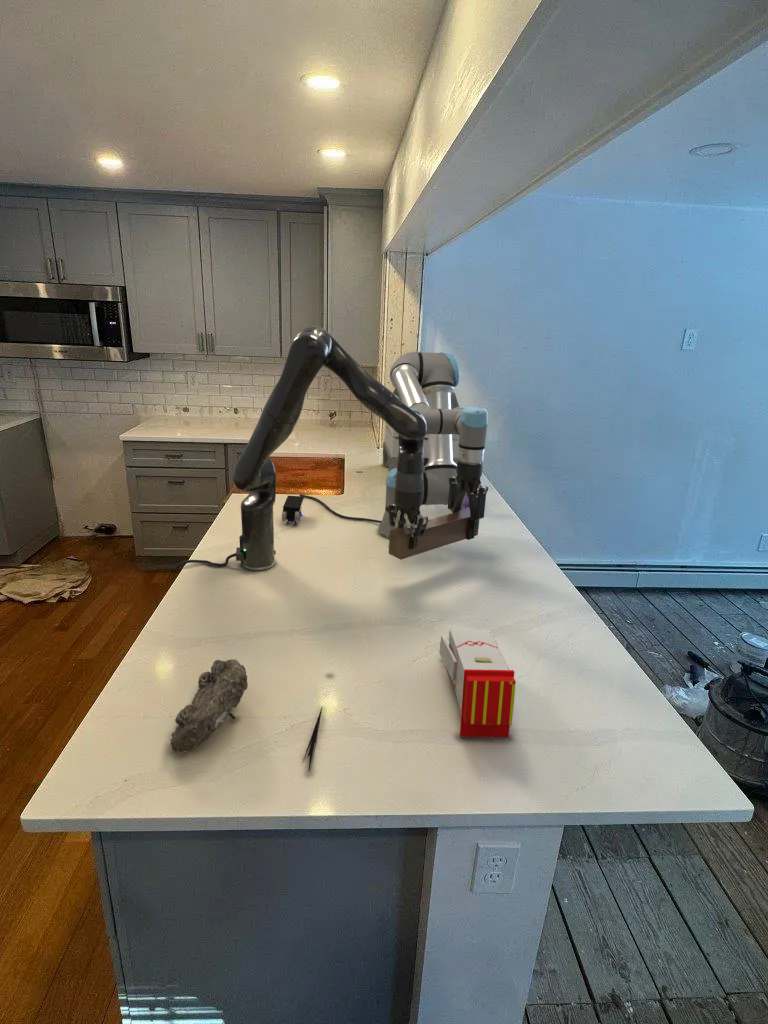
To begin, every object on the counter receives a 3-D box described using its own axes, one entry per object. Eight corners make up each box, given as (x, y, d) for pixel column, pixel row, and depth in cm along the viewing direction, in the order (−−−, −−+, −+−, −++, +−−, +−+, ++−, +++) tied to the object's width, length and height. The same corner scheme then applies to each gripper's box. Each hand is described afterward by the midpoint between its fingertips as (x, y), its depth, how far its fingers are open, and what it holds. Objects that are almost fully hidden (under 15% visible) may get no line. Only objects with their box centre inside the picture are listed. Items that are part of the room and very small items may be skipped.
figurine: (459, 514, 221) (463, 477, 216) (445, 506, 229) (448, 470, 224) (479, 511, 225) (483, 475, 220) (464, 503, 234) (467, 468, 228)
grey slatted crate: (381, 463, 289) (385, 382, 275) (444, 464, 292) (450, 384, 279) (389, 482, 257) (393, 392, 243) (459, 483, 261) (467, 394, 247)
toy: (489, 613, 130) (525, 677, 101) (485, 667, 133) (518, 744, 104) (437, 612, 130) (457, 676, 101) (434, 666, 133) (453, 743, 103)
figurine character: (300, 531, 202) (304, 512, 215) (299, 512, 198) (304, 494, 212) (281, 530, 201) (287, 511, 215) (280, 511, 198) (286, 493, 211)
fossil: (195, 660, 117) (247, 628, 112) (227, 691, 120) (279, 661, 115) (146, 746, 98) (206, 711, 93) (185, 779, 101) (245, 748, 96)
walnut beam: (388, 553, 157) (389, 530, 155) (465, 530, 177) (467, 509, 175) (400, 559, 153) (402, 535, 151) (477, 535, 173) (480, 513, 171)
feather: (331, 679, 122) (336, 673, 122) (307, 777, 96) (313, 769, 95) (324, 675, 122) (329, 669, 121) (298, 772, 95) (304, 764, 95)
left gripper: (381, 482, 154) (378, 540, 160) (417, 496, 144) (413, 557, 149) (401, 478, 158) (398, 534, 164) (438, 491, 148) (433, 551, 154)
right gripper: (438, 456, 169) (433, 529, 177) (485, 470, 156) (477, 548, 164) (456, 453, 174) (449, 524, 181) (503, 466, 161) (494, 542, 169)
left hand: (405, 545), depth 157 cm, fingers closed on walnut beam, 5 cm apart
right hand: (463, 535), depth 173 cm, fingers closed on walnut beam, 5 cm apart
